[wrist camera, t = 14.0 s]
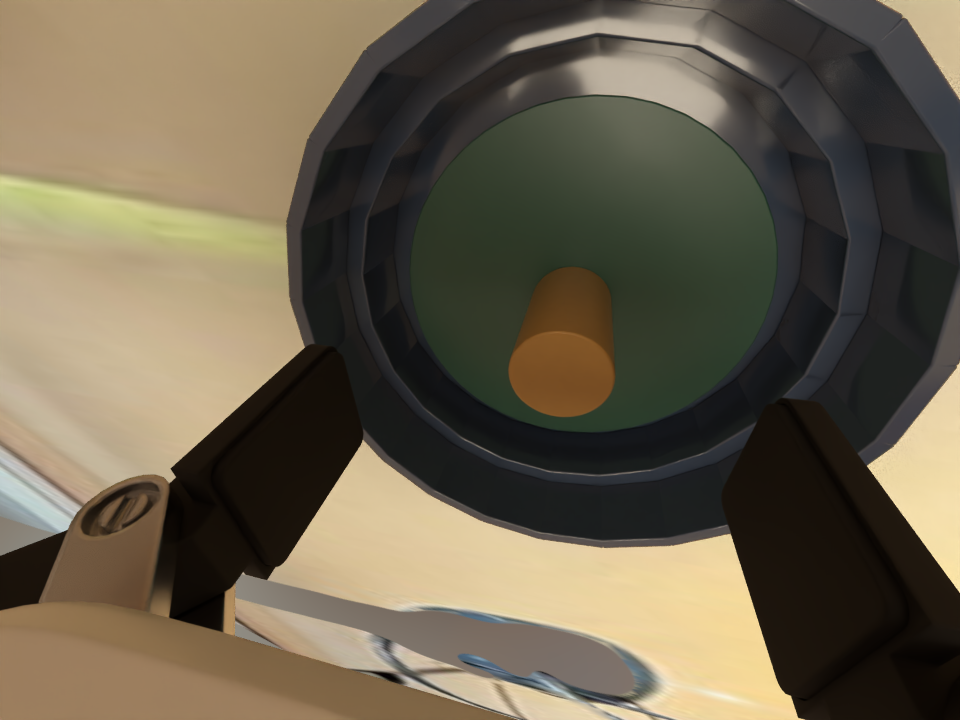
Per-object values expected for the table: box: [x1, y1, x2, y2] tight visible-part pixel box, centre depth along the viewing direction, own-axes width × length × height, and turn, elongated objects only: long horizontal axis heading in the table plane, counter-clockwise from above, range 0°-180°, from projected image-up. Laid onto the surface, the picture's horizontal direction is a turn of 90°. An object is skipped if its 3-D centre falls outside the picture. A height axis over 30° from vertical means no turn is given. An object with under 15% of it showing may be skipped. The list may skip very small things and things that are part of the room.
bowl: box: [286, 0, 960, 548], centre depth 14 cm, size 18×18×6 cm
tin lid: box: [409, 94, 778, 432], centre depth 14 cm, size 13×13×6 cm
